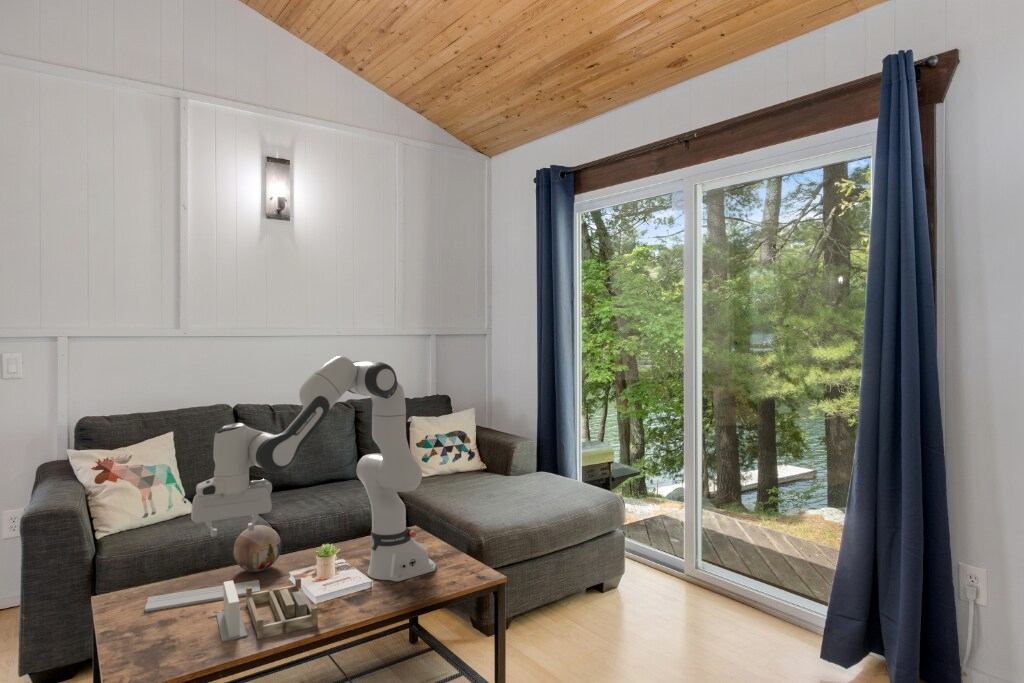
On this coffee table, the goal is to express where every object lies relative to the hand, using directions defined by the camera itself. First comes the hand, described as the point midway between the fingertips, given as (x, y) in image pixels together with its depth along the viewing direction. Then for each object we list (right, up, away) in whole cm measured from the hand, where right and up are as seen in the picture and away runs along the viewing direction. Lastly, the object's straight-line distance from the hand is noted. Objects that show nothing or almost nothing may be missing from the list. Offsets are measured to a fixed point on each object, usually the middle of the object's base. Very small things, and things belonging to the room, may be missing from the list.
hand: (232, 533), depth 174 cm
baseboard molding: (-17, -26, +19) cm, 36 cm away
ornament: (-9, -25, +39) cm, 47 cm away
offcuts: (+14, -25, +8) cm, 30 cm away
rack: (+11, -25, +6) cm, 28 cm away
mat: (0, -25, -1) cm, 25 cm away
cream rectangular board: (0, -25, 0) cm, 25 cm away
